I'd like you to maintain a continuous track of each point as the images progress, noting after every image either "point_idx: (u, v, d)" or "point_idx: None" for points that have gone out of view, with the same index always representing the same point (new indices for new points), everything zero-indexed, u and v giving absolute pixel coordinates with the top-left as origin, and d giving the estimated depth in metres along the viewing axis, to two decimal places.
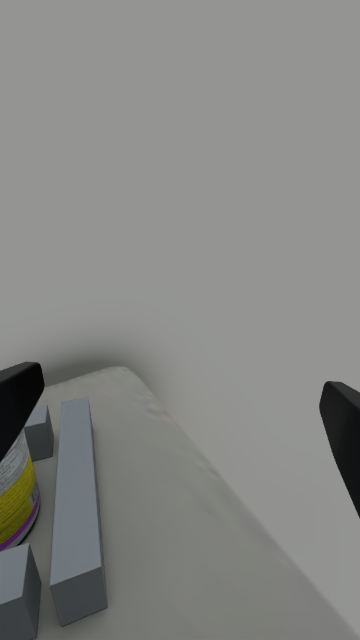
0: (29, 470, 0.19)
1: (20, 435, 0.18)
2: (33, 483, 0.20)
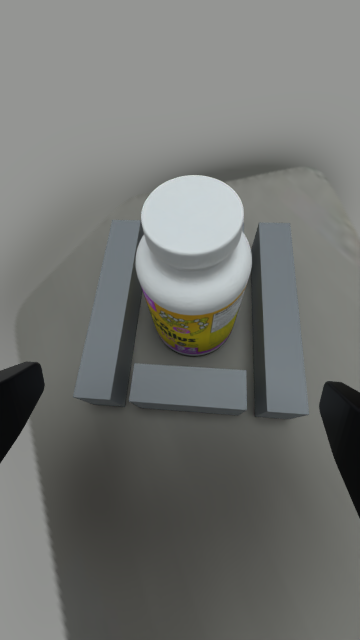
0: None
1: None
2: None
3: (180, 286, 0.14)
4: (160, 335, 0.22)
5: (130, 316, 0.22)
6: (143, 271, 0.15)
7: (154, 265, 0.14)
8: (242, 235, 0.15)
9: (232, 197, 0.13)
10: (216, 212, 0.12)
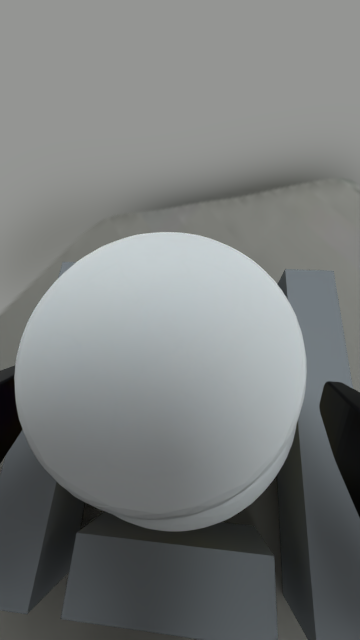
0: None
1: None
2: None
3: None
4: None
5: None
6: None
7: None
8: None
9: (271, 302, 0.05)
10: (227, 352, 0.04)
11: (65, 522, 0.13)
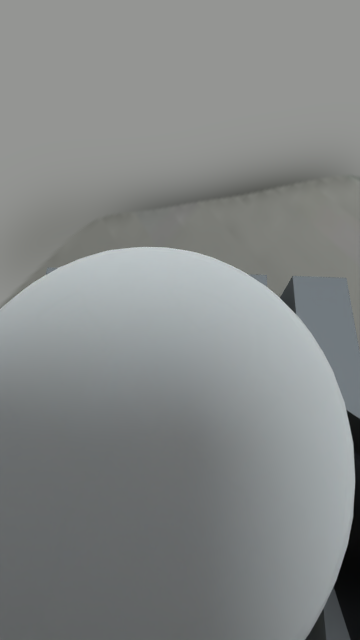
0: None
1: None
2: None
3: None
4: None
5: None
6: None
7: None
8: None
9: (297, 353, 0.03)
10: (233, 432, 0.03)
11: None
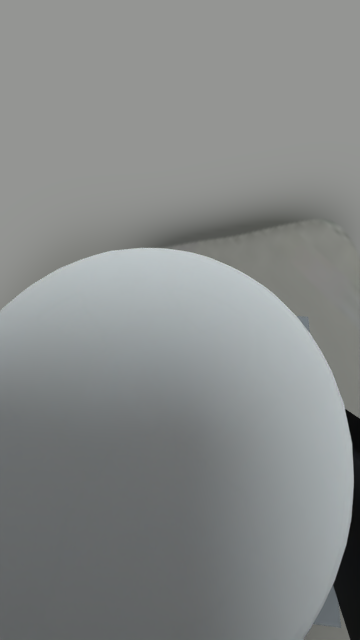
0: None
1: None
2: None
3: None
4: None
5: None
6: None
7: None
8: None
9: (297, 354, 0.03)
10: (233, 434, 0.03)
11: None
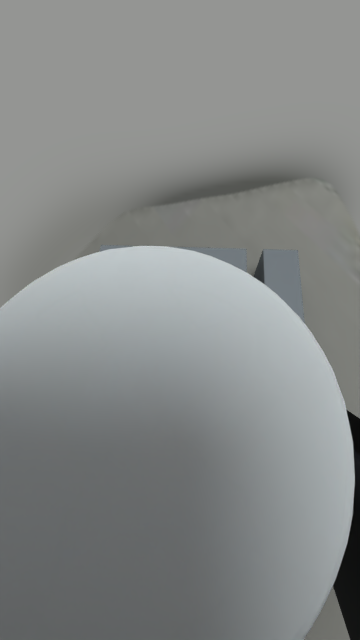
0: None
1: None
2: None
3: None
4: None
5: None
6: None
7: None
8: None
9: (297, 352, 0.03)
10: (233, 432, 0.03)
11: None
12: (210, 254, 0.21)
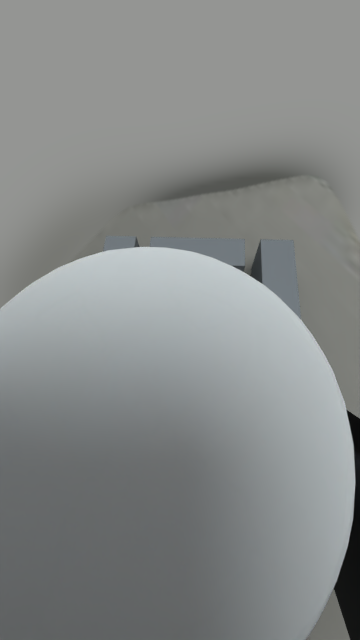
0: None
1: None
2: None
3: None
4: None
5: None
6: None
7: None
8: None
9: (298, 353, 0.03)
10: (232, 434, 0.03)
11: None
12: (210, 244, 0.22)
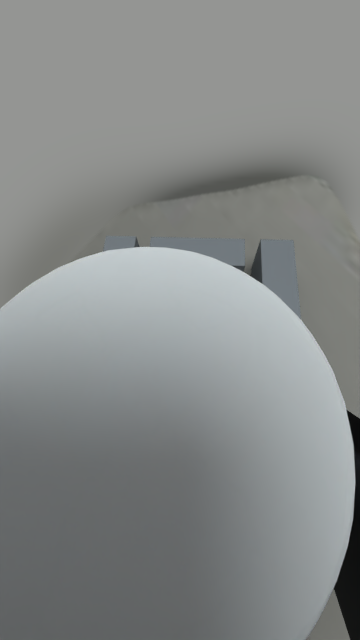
0: None
1: None
2: None
3: None
4: None
5: None
6: None
7: None
8: None
9: (298, 353, 0.03)
10: (232, 434, 0.03)
11: None
12: (210, 244, 0.22)
